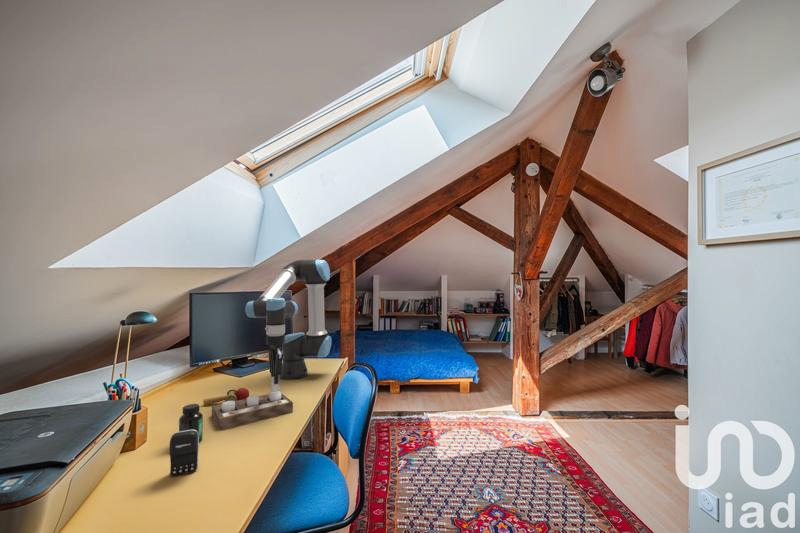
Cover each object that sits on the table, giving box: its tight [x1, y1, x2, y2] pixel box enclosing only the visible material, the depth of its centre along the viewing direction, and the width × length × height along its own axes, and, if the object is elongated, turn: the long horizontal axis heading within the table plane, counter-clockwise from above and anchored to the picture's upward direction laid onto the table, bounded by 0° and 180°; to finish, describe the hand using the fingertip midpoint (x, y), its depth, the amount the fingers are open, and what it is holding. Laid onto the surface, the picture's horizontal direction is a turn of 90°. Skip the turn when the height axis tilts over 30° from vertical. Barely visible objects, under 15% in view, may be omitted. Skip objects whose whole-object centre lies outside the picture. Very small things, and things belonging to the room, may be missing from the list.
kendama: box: [202, 387, 250, 407], centre depth 152 cm, size 8×6×18 cm
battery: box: [168, 429, 199, 477], centre depth 98 cm, size 7×4×11 cm, turn 114°
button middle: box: [247, 395, 260, 408], centre depth 140 cm, size 5×5×4 cm
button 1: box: [221, 401, 235, 413], centre depth 135 cm, size 5×5×4 cm
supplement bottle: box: [178, 403, 204, 443], centre depth 117 cm, size 7×7×12 cm
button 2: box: [269, 390, 282, 402], centre depth 146 cm, size 5×5×4 cm
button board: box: [211, 392, 294, 431], centre depth 140 cm, size 27×16×4 cm, turn 128°
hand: (275, 391), depth 145 cm, fingers closed
